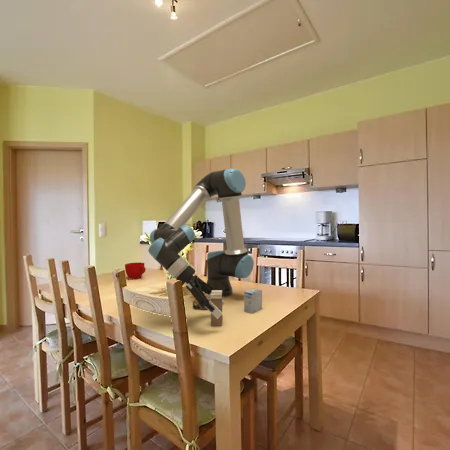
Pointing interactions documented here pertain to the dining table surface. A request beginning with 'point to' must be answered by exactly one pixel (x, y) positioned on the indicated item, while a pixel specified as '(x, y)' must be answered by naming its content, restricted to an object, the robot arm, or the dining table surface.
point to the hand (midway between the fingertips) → (221, 310)
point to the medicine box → (252, 300)
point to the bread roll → (197, 305)
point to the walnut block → (217, 301)
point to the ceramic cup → (134, 270)
